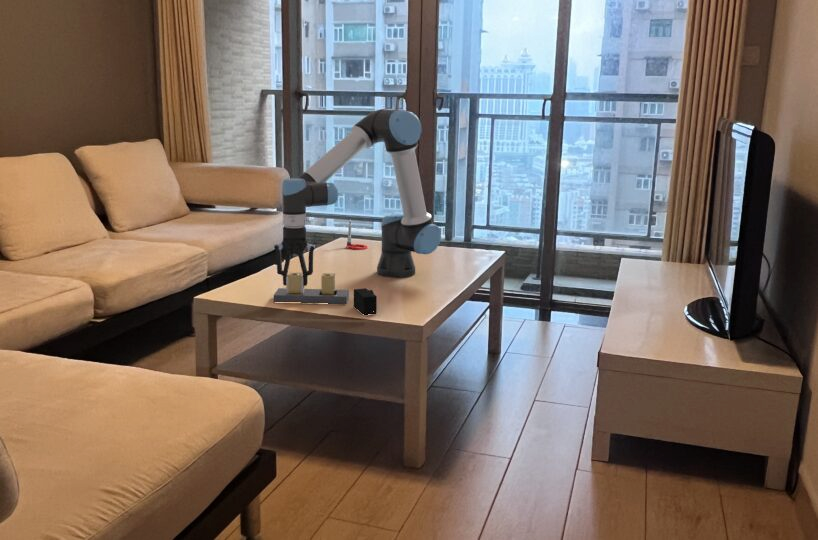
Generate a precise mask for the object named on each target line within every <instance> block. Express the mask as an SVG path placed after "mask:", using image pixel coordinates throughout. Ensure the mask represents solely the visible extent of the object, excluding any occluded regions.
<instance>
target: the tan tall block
mask: <svg viewBox="0 0 818 540" xmlns="http://www.w3.org/2000/svg"><path fill="white" fill-rule="evenodd" d="M287 275H288V284H289V294H301V276H302V275H303V273H302V272H289V274H287Z"/></svg>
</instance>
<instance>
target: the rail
mask: <svg viewBox="0 0 818 540" xmlns="http://www.w3.org/2000/svg"><path fill="white" fill-rule="evenodd" d="M349 299H350V290H349V289H335V295H322V288H320V289H319V288H304V293H303V294H286V287H285V288H283V287H282V288H277V290H276V291H275V293H274V294H273V303H274V302H301V303H328V304H348V302H349ZM347 301H348V302H347Z"/></svg>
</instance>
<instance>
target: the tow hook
mask: <svg viewBox="0 0 818 540" xmlns="http://www.w3.org/2000/svg"><path fill="white" fill-rule="evenodd" d="M348 221H349V223H348V232H347V242H346V247H345V249H346V250H349V249H351V250H355V251H356V250H357V251H358V250H361V251H363V250H367V249H368V246H367V245H365V244H359V243H353V244H352V219H349V220H348Z"/></svg>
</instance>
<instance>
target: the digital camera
mask: <svg viewBox="0 0 818 540" xmlns="http://www.w3.org/2000/svg"><path fill="white" fill-rule="evenodd" d="M377 297H378V296H377V295H376V294H375V293H374V291H373V290H372V289H368V288H366V287H364V288H355V289H353V308H354V307H355V308H356V309H358V310H359V311H360V312H361V313H362V314H364V315H368V314H376V313H377V311H378V310H377V307H378V306H377V305H378V304H377V301H378V300H377V299H378V298H377ZM355 308H354V309H355ZM356 309H355V310H356ZM359 311H358V312H359ZM373 311H374V312H373ZM360 312H359V313H360ZM361 313H360V314H361ZM362 314H361V315H362Z"/></svg>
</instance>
